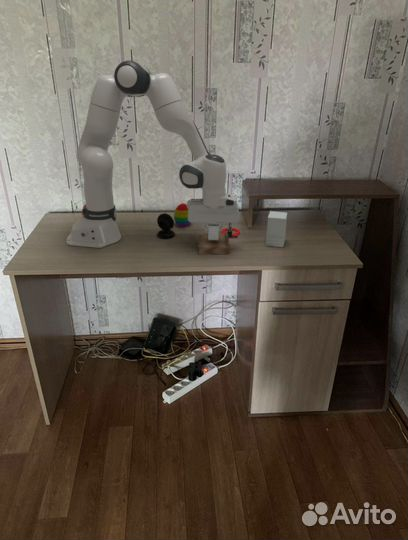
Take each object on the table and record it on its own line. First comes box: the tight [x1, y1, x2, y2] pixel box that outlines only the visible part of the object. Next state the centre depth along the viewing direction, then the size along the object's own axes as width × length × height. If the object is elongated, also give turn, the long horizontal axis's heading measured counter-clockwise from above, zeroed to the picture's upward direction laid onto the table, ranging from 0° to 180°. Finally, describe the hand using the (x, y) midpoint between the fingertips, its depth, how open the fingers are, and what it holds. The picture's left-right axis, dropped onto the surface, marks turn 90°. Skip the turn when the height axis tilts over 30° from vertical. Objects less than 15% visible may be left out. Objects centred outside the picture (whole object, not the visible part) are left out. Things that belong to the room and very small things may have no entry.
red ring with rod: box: [220, 222, 241, 239], centre depth 175 cm, size 8×13×9 cm
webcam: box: [156, 212, 176, 240], centre depth 173 cm, size 8×8×10 cm
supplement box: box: [265, 210, 288, 248], centre depth 166 cm, size 7×7×13 cm
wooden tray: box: [198, 231, 230, 255], centre depth 164 cm, size 12×12×4 cm
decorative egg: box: [173, 203, 191, 228], centre depth 183 cm, size 8×8×10 cm
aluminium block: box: [207, 222, 220, 240], centre depth 161 cm, size 4×6×6 cm
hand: (213, 231), depth 162 cm, fingers closed on aluminium block, 4 cm apart
